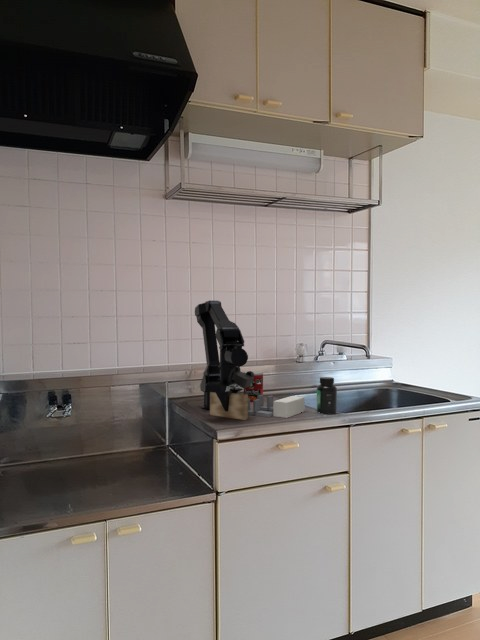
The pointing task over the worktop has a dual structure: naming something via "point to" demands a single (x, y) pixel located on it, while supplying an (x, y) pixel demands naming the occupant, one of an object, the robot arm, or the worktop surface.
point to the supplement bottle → (326, 396)
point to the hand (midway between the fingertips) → (228, 410)
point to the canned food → (255, 386)
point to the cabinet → (277, 406)
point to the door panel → (230, 406)
